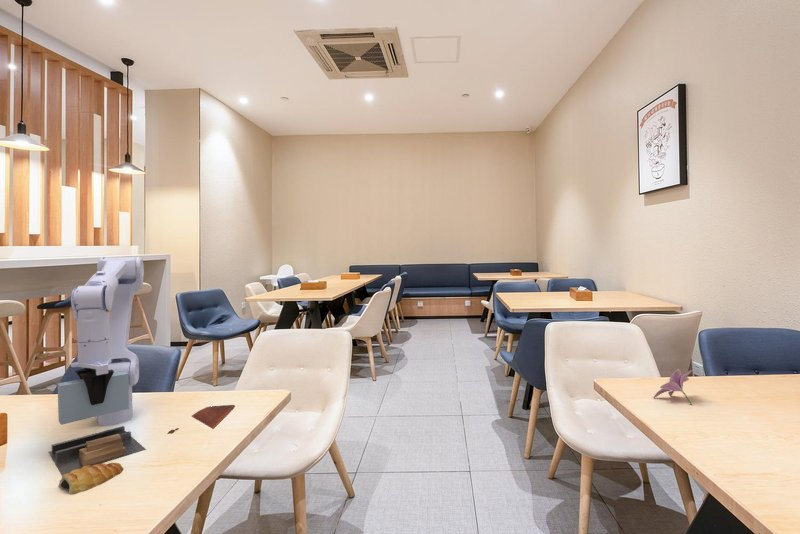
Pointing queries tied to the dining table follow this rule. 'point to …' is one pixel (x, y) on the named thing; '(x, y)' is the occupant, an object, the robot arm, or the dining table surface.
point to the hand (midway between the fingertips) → (95, 402)
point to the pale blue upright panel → (78, 404)
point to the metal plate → (68, 451)
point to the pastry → (89, 477)
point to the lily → (675, 383)
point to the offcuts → (101, 450)
